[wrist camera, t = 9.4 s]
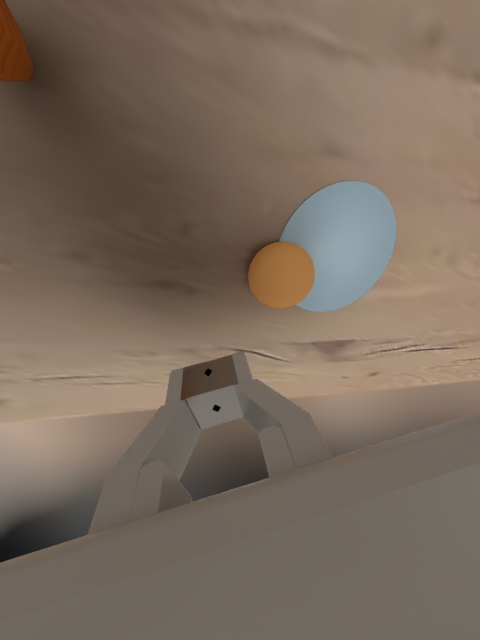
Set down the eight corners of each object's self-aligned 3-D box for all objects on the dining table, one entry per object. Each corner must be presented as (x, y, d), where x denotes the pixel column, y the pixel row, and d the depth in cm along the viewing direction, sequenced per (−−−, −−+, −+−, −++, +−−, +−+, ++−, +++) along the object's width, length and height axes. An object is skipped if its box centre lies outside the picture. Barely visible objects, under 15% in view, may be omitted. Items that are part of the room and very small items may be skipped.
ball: (306, 238, 13) (313, 230, 17) (230, 256, 15) (253, 245, 19) (316, 316, 15) (320, 291, 19) (247, 321, 17) (265, 298, 21)
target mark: (268, 198, 16) (268, 198, 16) (407, 166, 17) (409, 166, 17) (281, 322, 22) (282, 323, 22) (383, 296, 23) (385, 297, 23)
